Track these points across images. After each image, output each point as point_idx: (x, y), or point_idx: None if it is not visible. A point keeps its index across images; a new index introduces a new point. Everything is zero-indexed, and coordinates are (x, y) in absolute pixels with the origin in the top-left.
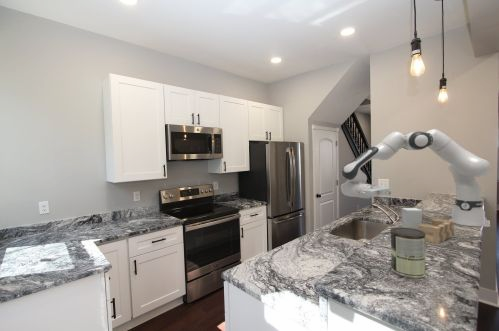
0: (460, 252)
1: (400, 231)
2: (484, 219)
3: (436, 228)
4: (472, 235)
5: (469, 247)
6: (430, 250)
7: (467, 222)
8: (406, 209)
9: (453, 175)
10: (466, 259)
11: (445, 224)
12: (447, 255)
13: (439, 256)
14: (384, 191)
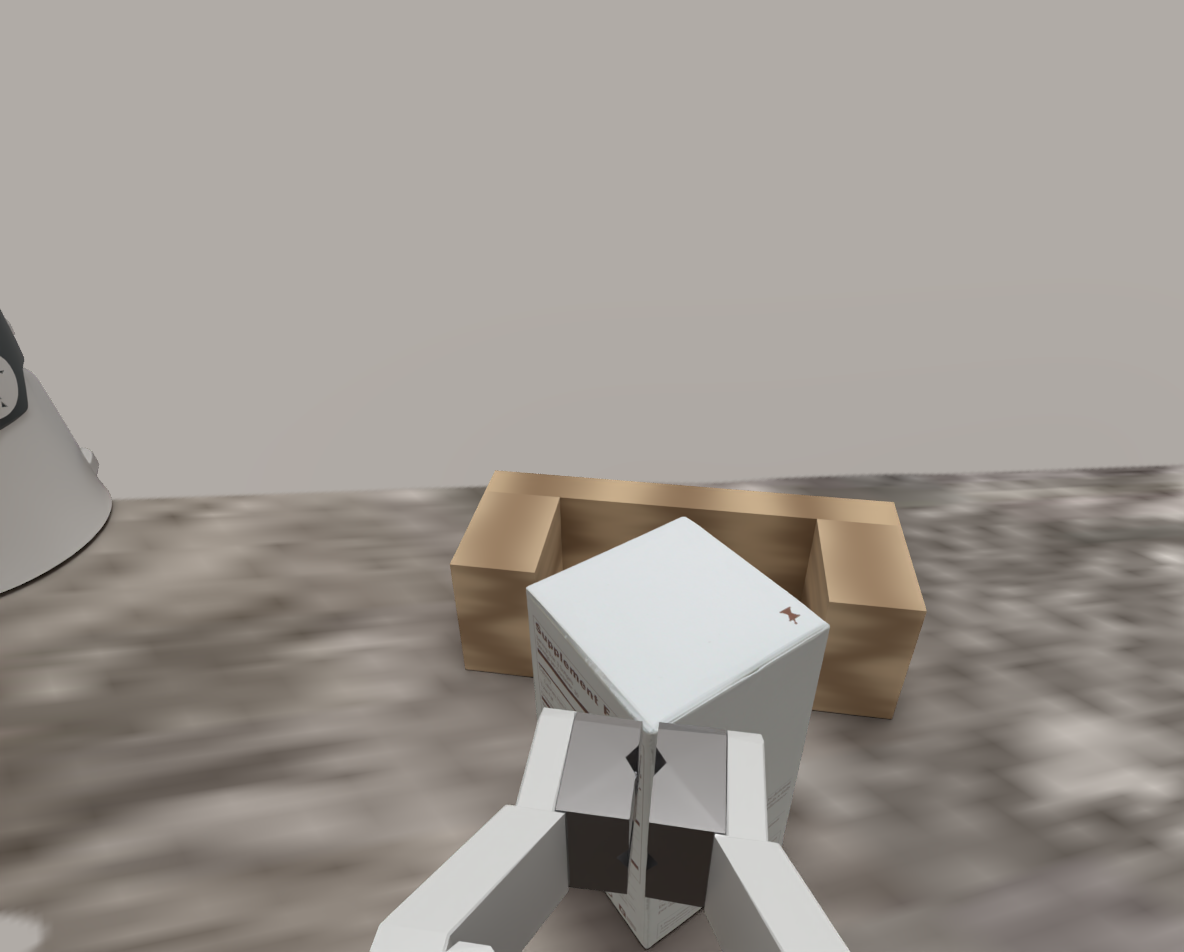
0: (934, 514)
1: None
2: (67, 427)
3: (896, 511)
4: (431, 503)
5: None
6: (1094, 614)
7: (78, 511)
8: (772, 641)
9: None
10: (1035, 491)
11: (677, 490)
12: (1076, 545)
13: (1152, 567)
14: (786, 860)
